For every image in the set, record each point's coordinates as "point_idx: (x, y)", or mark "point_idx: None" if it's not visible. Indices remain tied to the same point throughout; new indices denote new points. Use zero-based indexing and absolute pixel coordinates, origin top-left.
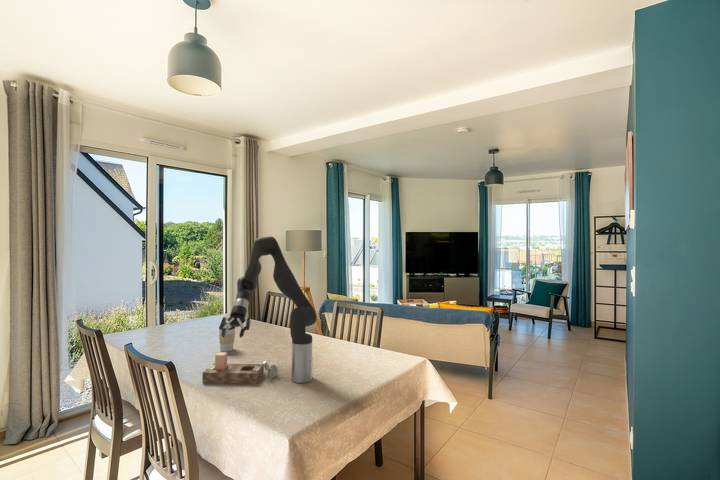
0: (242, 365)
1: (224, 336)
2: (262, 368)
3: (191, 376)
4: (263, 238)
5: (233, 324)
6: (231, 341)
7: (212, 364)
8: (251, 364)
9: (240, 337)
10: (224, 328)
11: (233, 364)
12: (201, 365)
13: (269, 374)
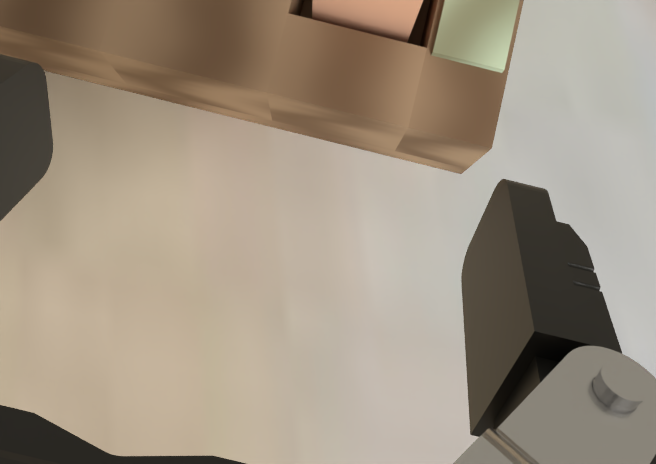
0: (134, 4)
1: (467, 267)
2: None
3: (652, 110)
4: None
5: (181, 461)
6: None
7: (496, 107)
8: (25, 19)
9: (41, 139)
10: (573, 360)
11: (244, 59)
12: None
13: None
